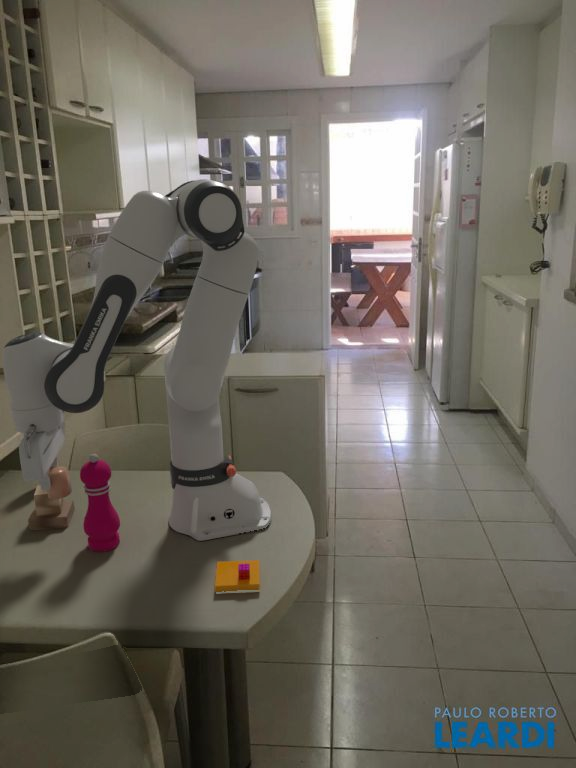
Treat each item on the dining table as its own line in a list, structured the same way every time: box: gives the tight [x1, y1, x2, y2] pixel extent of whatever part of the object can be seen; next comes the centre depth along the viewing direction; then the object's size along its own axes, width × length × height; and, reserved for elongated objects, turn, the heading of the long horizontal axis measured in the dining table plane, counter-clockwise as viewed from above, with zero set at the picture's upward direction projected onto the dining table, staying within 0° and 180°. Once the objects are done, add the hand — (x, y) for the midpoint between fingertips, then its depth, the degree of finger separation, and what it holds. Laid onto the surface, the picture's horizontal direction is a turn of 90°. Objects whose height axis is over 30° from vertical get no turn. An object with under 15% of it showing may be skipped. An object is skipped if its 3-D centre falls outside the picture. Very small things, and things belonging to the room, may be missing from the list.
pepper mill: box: [79, 453, 121, 552], centre depth 127 cm, size 7×7×20 cm
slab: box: [27, 499, 75, 531], centre depth 140 cm, size 8×8×3 cm
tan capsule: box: [47, 465, 73, 499], centre depth 126 cm, size 5×5×5 cm
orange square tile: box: [214, 559, 261, 593], centre depth 116 cm, size 8×8×4 cm
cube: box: [33, 484, 65, 516], centre depth 139 cm, size 5×5×5 cm
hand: (50, 481), depth 126 cm, fingers closed on tan capsule, 4 cm apart
